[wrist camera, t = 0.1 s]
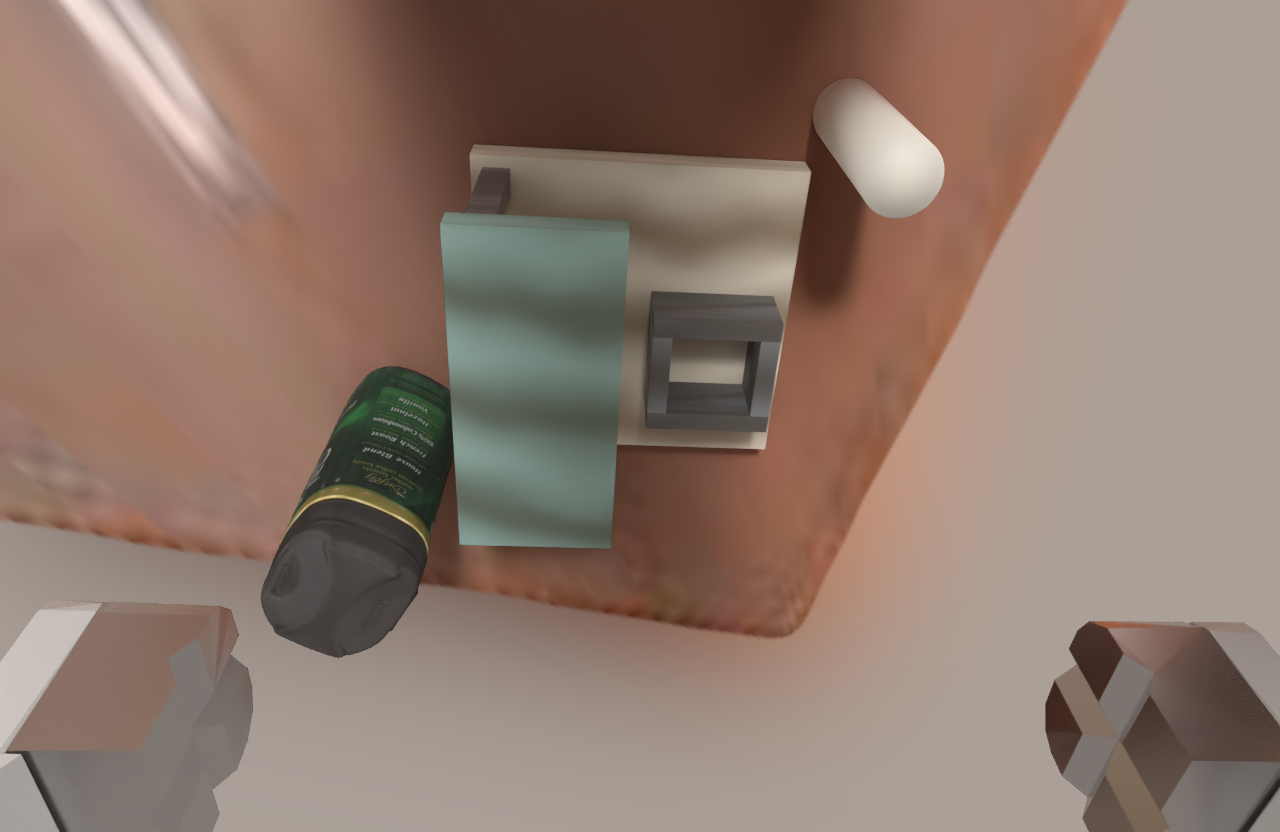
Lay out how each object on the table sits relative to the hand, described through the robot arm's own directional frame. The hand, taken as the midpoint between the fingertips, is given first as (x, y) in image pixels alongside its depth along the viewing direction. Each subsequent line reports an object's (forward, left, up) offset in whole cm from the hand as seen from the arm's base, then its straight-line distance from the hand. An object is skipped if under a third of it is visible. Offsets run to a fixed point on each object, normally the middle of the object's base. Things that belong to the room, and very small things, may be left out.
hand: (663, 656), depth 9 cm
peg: (+6, +14, -48) cm, 50 cm away
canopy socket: (+19, +2, -48) cm, 52 cm away
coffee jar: (+29, -14, -48) cm, 58 cm away
